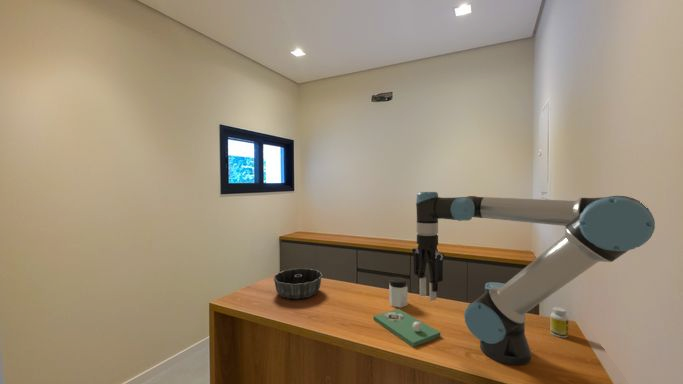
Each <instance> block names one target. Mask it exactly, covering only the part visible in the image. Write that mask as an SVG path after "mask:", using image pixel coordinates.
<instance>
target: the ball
mask: <svg viewBox="0 0 683 384" xmlns="http://www.w3.org/2000/svg"><path fill="white" fill-rule="evenodd" d="M413 329H414V331H416V332H420V331H421V330H422V325H421V323H420V322H414V323H413Z"/></svg>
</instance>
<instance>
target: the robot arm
mask: <svg viewBox="0 0 683 384" xmlns="http://www.w3.org/2000/svg"><path fill="white" fill-rule="evenodd" d="M640 202H641V201H640V200H638V199H636V198H634V197H633V198H632V197H631V196H625V195H611V196H602V197H579V198H578V199H576V200H566V199H565V200H563V199H562V200H561V199H541V198H539V199H538V198H514V197H513V198H511V197H492V196H491V197H488V196H476V195H469V196H460V197H459V196H458V197H457V196H455V197H440V196H439V194H438V192H437V191H419V192H417V194H416V203H415V205H416V233H417V234H416V244H417V247H416V248H415V247H413V248H412V251H411V252H412V254H413V274H414V275H416V276H417V279H418V280H417V281H418V288H419V297H423V296H427V277H426V276H427V275H426V269H427V264H428V269H429V276H430V281H429V282H428V283H429V286H428V287H429V289H428V290H429V292H428V293H429V301H430V302H432V301H437V292H438V290H439V289H438V286H439V284H438V283H440V282H443V280H444V279H443V276H444V271H443V270H444V259H445V254H444V253H440V252H439V250H438V246H439V235H438V234H439V220H451V221H453V220H454V221H458V222H461V221H466V222H467V221H471V220H472V219H473V218H479V219H489V220H490V219H491V220H498V221H499V220H502V221H511V222H520V223H521V222H522V223H531V224H543V225H552V226H561V227H562V226H564V232H565V233H564V235H563V236H562V237H561V238H560V239H558V240H557V241H556V242H555V243H554V244H552V245H551V246H550V247H549V248H547V249H546V250H545V251H544V252H543V253H540V255H539V256H537V257H536V258H535V259H534V260H533V261H532V262H530V263H528V265H526V266H525V267H524V268H522V269H521V270H520V271H519V272H517V273H516V274H515V275H514V276H513V277H512V278H510V279H509V280H508V281H506V282H505V283H502V282H496V281H495V282H493V281H491V282H490V281H489V282H486V283H485V285H484V293H483V294H482V295H480V296H479V297H478V298H477V299H476V300H475V301H473V302H470V303H469V304H468V305H467V307H466V308H465V310H464V314H463V316H464V323H465V325H466V327H467V329H468V330H469V331H470V333H471V335H473V336H474V337H475V338H477V339H478V340H479V348H480V349H481V350H480V351H481V352H483V353H484V355H486V356H487V357H489V358H490V359H492V360H494V361H496V362H499V363H501V364H506V365H512V366H525V365H527V364H529V363H530V362H531V360H532V351H531V348H530V345H529V342H528V339H527V337H526V334H525V333H526V332H525V326H526V325H525V323H526V313H528V312H529V311H531V310H532V309H534V308H536V307H537V305H539V304H541V303H542V302H543V301H545V300H546V299H548V298H549V297H550V296H552V295H553V294H555V293H557V292H558V291H560V289H562V288H563V287H565V286H566V285H568V284H569V283H570V282H571V281H573V280H575V279H576V278H578V277H579V276H580V275H582V274H583V273H584V272H586V271H587V270H589V269H590V268H592V267H594V265H596V264H597V263H600V262H604V263H612V262H614V261H615V260H618V258H620V257H621V256H623V255H624V254H625V253H627V252H628V251H630V250H635V249H637V248H640V247H641V246H643V245H645V244H646V243H647V242H648V241H649V240H650V239H651V238H652V236H653V234H654V231H655V229H656V228H655V227H656V226H655V224H656V222H655V218H654V215H653V213H652V212H651V210H650V209H649V208H648V207H647V206H646V205H645V204H644V203H643V202H641V203H640ZM642 203H643V204H644V205H645V206H646V207H647V208H646V207H645V206H644V205H643V204H642Z"/></svg>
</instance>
